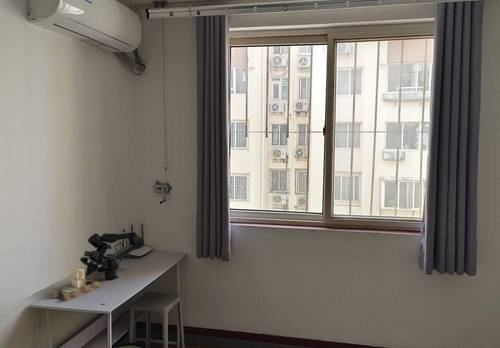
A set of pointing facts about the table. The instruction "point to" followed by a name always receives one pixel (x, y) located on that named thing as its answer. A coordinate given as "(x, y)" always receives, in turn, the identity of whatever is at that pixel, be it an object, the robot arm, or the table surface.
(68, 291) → the trap deck
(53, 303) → the table surface
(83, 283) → the maple block
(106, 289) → the table surface
